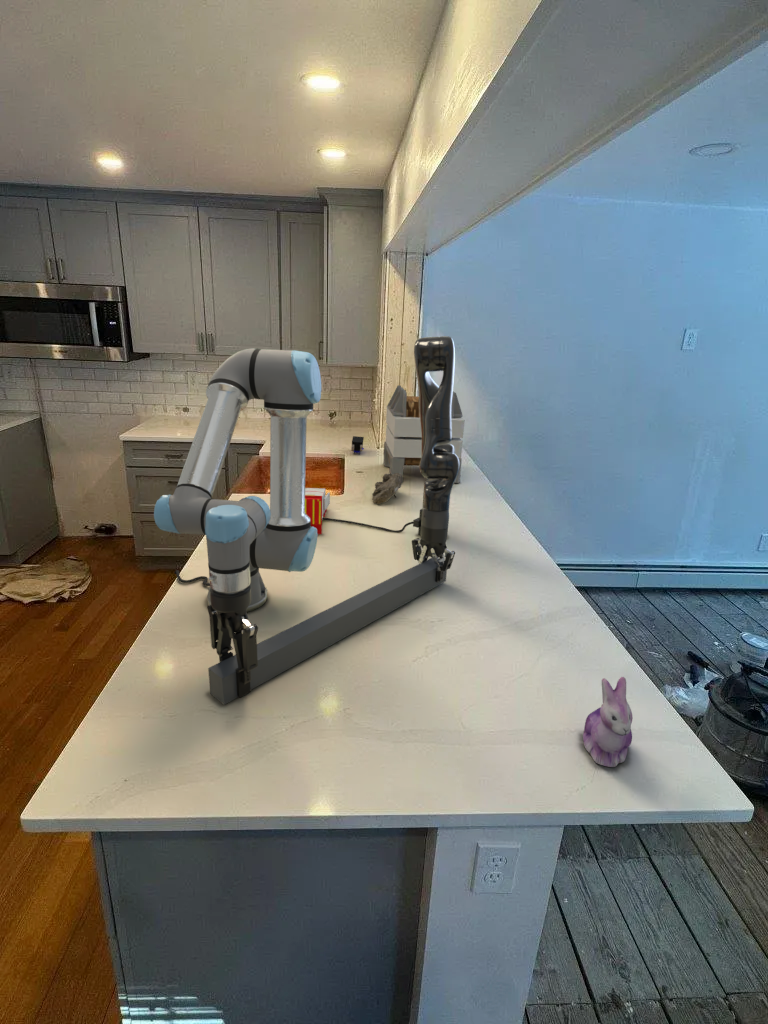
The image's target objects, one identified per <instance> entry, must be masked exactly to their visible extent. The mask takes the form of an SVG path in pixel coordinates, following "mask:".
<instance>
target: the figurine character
mask: <svg viewBox="0 0 768 1024" xmlns="http://www.w3.org/2000/svg"><path fill="white" fill-rule="evenodd" d="M363 450H364V436H357V435H353V436H352V439H351V449H350V451H351V452H353V455H356V454H358V455H361V452H363Z"/></svg>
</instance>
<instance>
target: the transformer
mask: <svg viewBox="0 0 768 1024" xmlns="http://www.w3.org/2000/svg"><path fill="white" fill-rule="evenodd" d="M407 394H408V393H407V390H406V389H404V388H403V387H402V385H399V384H398V385H397V386H396V388H395V390H394V392H393V394H392V395H391V398H390V400H389V402H388V404H387V405H386V413H385V414H386V415H385V423H386V428H385V438H384V442H383V466H384V467H388V468H389V474H390V473H391V474H392V475H393V474H394V473H399V474H401V475H402V476H403V475H404V469H405V466H406V467H407V466H411V467H412V466H413V467H415V466H416V467H417V466H418V467H419V466H420V461H421V444H422V435H421V423H420V415H419V395H418V396H415V395H414V396H413V395H412V396H411V395H407ZM451 427H452V439H451V442H450V443H448V444H452V445H453V446H454V449H455V454H456V455H457V457H458V458H459V462H460V467H459V471H458V474H457V477H456V479H455V481H454V484H455V483H456V484H459V483H461V472H462V461H463V460H462V453H463V442H464V441H463V440H462V439H463V438H464V431H465V430H464V429H465V419H464V418H463V411H462V408H461V405H460V402H459V398H458V395H457V392H455V391H454V390H453V394H452V404H451Z"/></svg>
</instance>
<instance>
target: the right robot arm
mask: <svg viewBox="0 0 768 1024" xmlns="http://www.w3.org/2000/svg"><path fill="white" fill-rule="evenodd" d="M455 350H456V349H455V342H454V340H453V338H452V336H450V335H449V336H448V335H446V336H445V335H444V336H441V335H440V336H425V337H420V338H417V339H416V340H415V342H414V346H413V355H414V356H413V358H414V365H415V373H416V379H417V388H418V397H419V415H420V423H421V435H422V444H421V461H420V466H418V467H419V472H420V474H421V476H422V477H423V478H424V479H425V480H424V482H423V493H422V496H423V497H422V506H421V508H420V509H419V516H418V517H417V518H414V519H413V521H409V522H407V523H405V524H404V525H403V527H401V529H399V530H393V529H389V528H387V527H382V526H376V525H373V524H372V525H371V524H367V523H362V522H358V521H351V520H346V519H345V520H344V519H340V518H339V519H337V518H329V517H323V519H322V521H329V522H330V521H331V522H339V523H340V522H341V523H345V524H351V525H356V526H357V525H358V526H362V527H368V528H372V529H377V530H383V531H385V532H390V533H402V532H404V531H405V529H406V527H408V526H410V525H412V527H413V528H418V530H417V535H418V536H420V538H419V537H417V538H415V539H412V540H411V547H412V554H413V560H415V561H417V562H418V564H420V563H422V562H424V561H426V560H428V559H429V558H433V560H434V563H435V564H436V569H437V570H436V576H435V582H437V583H438V582H440V581H441V580H442V579H443V572H444V571H446V570H447V571H448V570H450V569H451V567H452V564H453V561H454V558H455V556H456V552H455V550H452V551H451V550H450V549H448V546H447V540H448V536H449V535H448V533H449V524H450V504H451V494H452V489H453V488H454V487H453V486H454V484H455V483H454V481H455V479H456V477H457V474H458V471H459V467H460V462H459V458H458V457H457V455H456V454H455V449H454V446H453V445H452V444H448V443H450V442H451V439H452V427H451V404H452V394H453V391H454V383H455V382H454V381H455V366H456V365H455V364H456V353H455V352H456V351H455ZM432 372H442V377H441V378H442V379H441V381H440V384H439V385H438V384H437V383H436V381H434V379H433V378H432V376H431V374H430V373H432ZM438 558H439V559H438Z"/></svg>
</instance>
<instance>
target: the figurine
mask: <svg viewBox="0 0 768 1024" xmlns="http://www.w3.org/2000/svg"><path fill="white" fill-rule="evenodd" d="M601 693H602V695H601V696H602V704H601V706H600V707H597V709H595V710H594V711H592V712H590V713H589V714H588V715H587V717H586V719H585V722H584V727H583V728H584V729H583V734H582V739H583V746H584V748H585V750H586V751H587V752H588V754H589V755H590V756H591V758H592V760H593V761H594V763H595V764H598V765H600V766H604V767H608V768H615V767H617V766H618V764H621V763H625V761H626V759H627V754H628V751H629V747H630V746H631V744H632V742H633V731H632V722H633V712H632V709H631V707H630V704H629V702H628V700H627V679H626V678H625V677H624V676H621V677H619V679H618V680H617V682H616V686H615V688H613V687H612V685H611V683H610V682H609V680H607V678H605V677H603V678H602V679H601Z"/></svg>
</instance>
